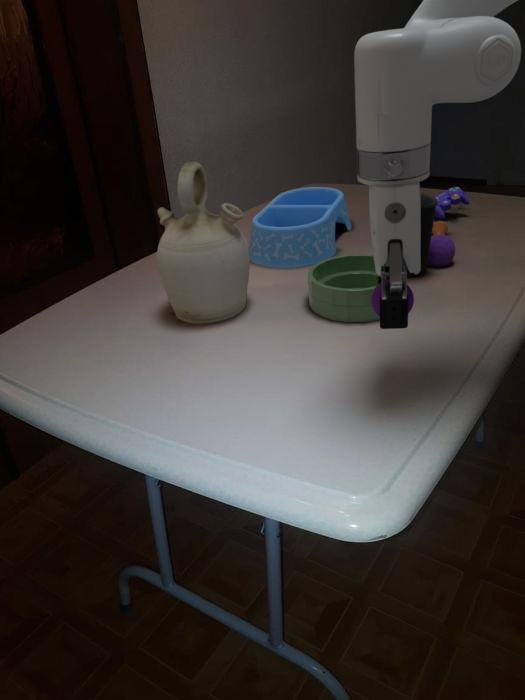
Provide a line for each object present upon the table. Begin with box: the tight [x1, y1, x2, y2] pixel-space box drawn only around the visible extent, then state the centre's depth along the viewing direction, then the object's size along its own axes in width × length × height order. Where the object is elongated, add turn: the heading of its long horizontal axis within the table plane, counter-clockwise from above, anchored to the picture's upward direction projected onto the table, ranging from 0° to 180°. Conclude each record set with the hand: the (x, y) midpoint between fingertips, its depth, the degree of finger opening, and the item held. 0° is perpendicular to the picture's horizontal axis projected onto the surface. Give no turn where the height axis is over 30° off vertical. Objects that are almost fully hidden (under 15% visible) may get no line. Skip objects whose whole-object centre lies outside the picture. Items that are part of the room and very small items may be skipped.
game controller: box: [434, 185, 471, 223], centre depth 128 cm, size 10×8×10 cm
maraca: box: [427, 220, 456, 268], centre depth 109 cm, size 6×6×20 cm
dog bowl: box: [248, 186, 353, 269], centre depth 122 cm, size 34×19×8 cm, turn 161°
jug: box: [156, 161, 251, 324], centre depth 91 cm, size 15×16×25 cm
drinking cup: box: [407, 192, 438, 278], centre depth 97 cm, size 8×8×20 cm
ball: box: [371, 279, 415, 317], centre depth 67 cm, size 5×5×5 cm
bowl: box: [307, 253, 381, 323], centre depth 92 cm, size 16×16×6 cm
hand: (392, 315), depth 68 cm, fingers closed on ball, 4 cm apart
